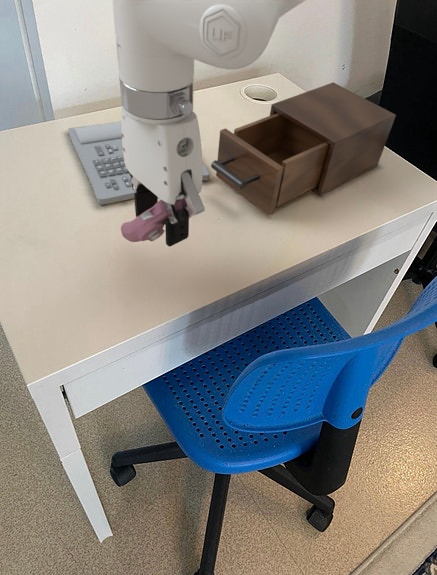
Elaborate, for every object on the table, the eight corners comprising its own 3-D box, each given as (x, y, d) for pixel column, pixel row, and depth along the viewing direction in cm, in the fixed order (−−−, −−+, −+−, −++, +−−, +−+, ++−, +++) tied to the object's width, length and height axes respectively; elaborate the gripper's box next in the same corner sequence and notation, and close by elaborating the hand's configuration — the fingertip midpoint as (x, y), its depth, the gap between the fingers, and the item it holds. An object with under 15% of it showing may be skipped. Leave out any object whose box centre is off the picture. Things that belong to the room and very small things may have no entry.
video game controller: (135, 260, 63) (148, 235, 57) (115, 231, 64) (126, 204, 58) (194, 229, 68) (211, 203, 62) (175, 202, 69) (190, 174, 63)
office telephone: (65, 121, 92) (166, 107, 99) (67, 134, 94) (167, 119, 100) (98, 192, 78) (214, 170, 85) (99, 206, 80) (213, 183, 86)
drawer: (249, 225, 78) (257, 179, 72) (196, 184, 85) (199, 137, 78) (330, 184, 88) (344, 139, 81) (277, 149, 94) (286, 105, 88)
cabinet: (320, 196, 87) (335, 142, 79) (262, 157, 94) (271, 104, 86) (377, 166, 95) (396, 114, 87) (320, 132, 102) (333, 82, 94)
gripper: (239, 117, 49) (226, 251, 62) (140, 56, 57) (147, 185, 71) (179, 140, 45) (179, 277, 58) (82, 71, 54) (101, 205, 67)
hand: (161, 226), depth 64 cm, fingers closed on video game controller, 5 cm apart
